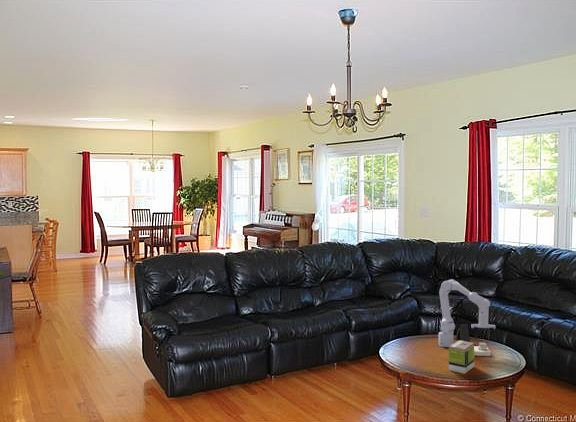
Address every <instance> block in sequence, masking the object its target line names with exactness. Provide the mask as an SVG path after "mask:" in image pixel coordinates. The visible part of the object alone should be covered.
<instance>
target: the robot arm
mask: <svg viewBox="0 0 576 422" xmlns="http://www.w3.org/2000/svg"><path fill="white" fill-rule="evenodd" d="M440 284H441V285H440V288H439V291H438V294H439V301H440V308H441V315H442V317H441V318H442V319H441V322H440V323H441V325H440V331H439V332H438V343H437V344H438V346H439V347H442V348H449V346H450V345H452V344H453V343H454V331H455V329H456V324H455V322H454V319H453V318H452V316H451V308H450V300H449V293H451V291H458V292H460V293H461V294H463V295H465V296H467V298H468V300H469V301H471V302H472V303H474V304H475V305H477V307H478V323H471V325H470V326H471V329H472V330H473V333H474V335H475V339H476V340H478V339H479V338H478V336H479V329H488V330H487V331H488V333H487V340H488V341H490V340H491V338H492V335H493V333H494V331H495V329H496V325H495V324H489V310H490V309H489V307H490V306H491V301H490V300H489V299H487V298H484V297H483V296H481V295H480V294H478V292H475V291H472V292H471V291H470V290H469V289H467V288H466V287H465V286H463V285H462V284H460V282H458V281H456V280H455V279H453V278H452V279H451V278H450V279H448V280H444V281H443V282H442V283H440Z"/></svg>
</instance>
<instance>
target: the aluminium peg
mask: <svg viewBox="0 0 576 422" xmlns="http://www.w3.org/2000/svg"><path fill="white" fill-rule="evenodd" d="M478 346H479V350H485V351H487V348H488V345H487V343H486V342H478Z"/></svg>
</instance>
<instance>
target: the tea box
mask: <svg viewBox="0 0 576 422" xmlns="http://www.w3.org/2000/svg"><path fill="white" fill-rule="evenodd" d="M474 346H475V342H471V341H470V342H466V341H460V340H458V341H456V340H455V342H453V344H452V345H450V346H449V347H448V371H451V372H454V373H460V374H466V373H467V372H469V371H470V370H471V369H473V368H475V356H474Z"/></svg>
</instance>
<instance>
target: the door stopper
mask: <svg viewBox="0 0 576 422" xmlns="http://www.w3.org/2000/svg"><path fill="white" fill-rule="evenodd" d="M458 340H460V341H466V342H471V339H470V333H469V325H468V324H467V323H461V324H457V332H456V335H455V342H456V341H458Z"/></svg>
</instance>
